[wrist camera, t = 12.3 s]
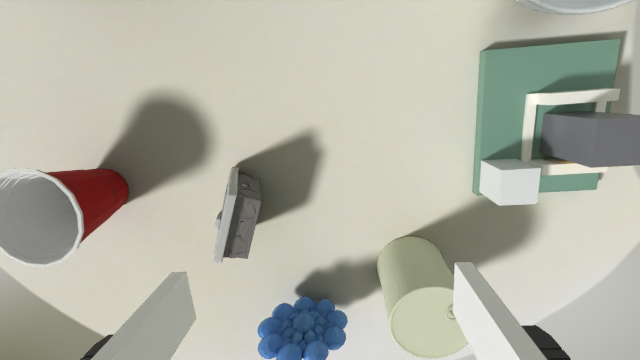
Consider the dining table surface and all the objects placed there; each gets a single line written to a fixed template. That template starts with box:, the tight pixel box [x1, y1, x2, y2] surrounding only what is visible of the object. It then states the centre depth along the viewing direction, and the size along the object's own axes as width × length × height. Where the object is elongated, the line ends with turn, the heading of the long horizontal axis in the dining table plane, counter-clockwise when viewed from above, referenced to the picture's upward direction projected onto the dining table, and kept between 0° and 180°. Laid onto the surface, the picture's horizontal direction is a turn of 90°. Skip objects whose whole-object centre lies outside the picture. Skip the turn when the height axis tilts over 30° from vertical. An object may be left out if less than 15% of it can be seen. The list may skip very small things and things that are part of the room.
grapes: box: [257, 297, 347, 360], centre depth 41 cm, size 12×7×12 cm, turn 88°
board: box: [472, 39, 621, 196], centre depth 36 cm, size 17×14×4 cm
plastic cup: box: [0, 168, 129, 268], centre depth 38 cm, size 11×11×12 cm
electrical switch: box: [214, 167, 261, 263], centre depth 39 cm, size 9×5×9 cm, turn 164°
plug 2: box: [539, 111, 640, 168], centre depth 33 cm, size 5×4×8 cm
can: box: [377, 236, 468, 358], centre depth 39 cm, size 9×9×12 cm
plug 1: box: [479, 158, 541, 206], centre depth 36 cm, size 4×4×5 cm
